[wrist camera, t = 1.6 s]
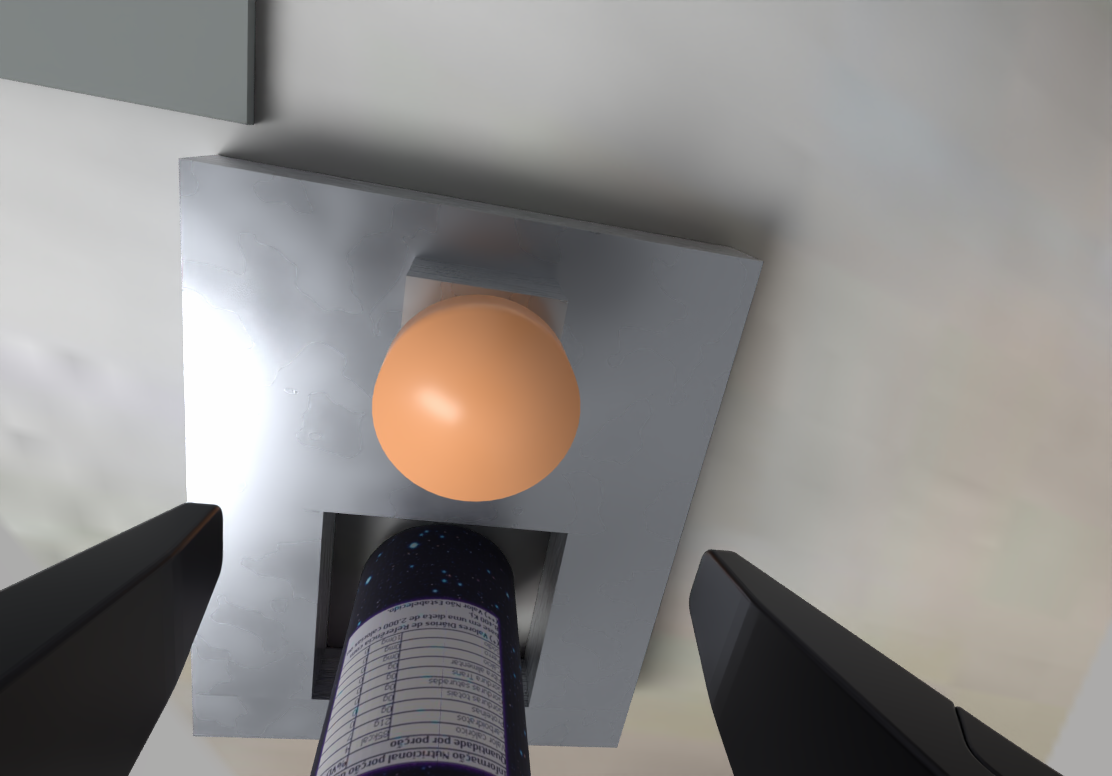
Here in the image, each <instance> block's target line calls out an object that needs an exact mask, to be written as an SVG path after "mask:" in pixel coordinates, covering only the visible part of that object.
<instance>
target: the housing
mask: <svg viewBox="0 0 1112 776" xmlns="http://www.w3.org/2000/svg"><path fill="white" fill-rule="evenodd" d="M179 187H180V227H181V267H182V307H183V347H184V386H185V426H186V466H187V502H193V503H204V504H215V505H218V506H219V507H220V508H221V509H222V512H223V563H222V568H221V572H220V576H219V578H218V581H217V584H216V586H215V589H214V591H213V594H212V596H211V599H210V601H209V604H208V606H207V609H206V611H205V614H204V616H203V619H202V621H201V624H200V627H199V629H198V632H197V634H196V637H195V639H194V642H193V644H192V647H191V665H192V705H193V736H206V737H243V738H280V739H317V740H320V736H321V732H322V728H323V724H324V720H325V716H326V712H327V708H328V704H329V700H330V696H331V692H332V689H333V685H334V681H335V677H336V673H337V669H338V665H339V661H340V657H341V653H342V649H343V648H328V647H326V643H327V629H328V615H329V602H330V588H331V574H332V560H333V546H334V532H335V518H336V513H345V514H356V515H368V516H379V517H390V518H402V519H413V520H424V521H435V522H447V523H458V524H469V525H481V526H492V527H503V528H515V529H526V530H537V531H549V532H551V534H550V539H549V543H548V548H547V553H546V557H545V562H544V567H543V571H542V576H541V581H540V585H539V590H538V595H537V599H536V604H535V608H534V613H533V618H532V622H531V627H530V632H529V636H528V641H527V646H526V650H525V655H524V658H521V657H520V658H521V670H522V681H523V693H524V704H525V716H526V727H527V739H528V745H540V746H577V747H615V748H617V746H618V743H619V739H620V736H621V733H622V729H623V726H624V723H625V720H626V716H627V713H628V710H629V706H630V703H631V700H632V696H633V693H634V690H635V686H636V683H637V680H638V676H639V673H640V670H641V667H642V663H643V660H644V657H645V653H646V650H647V647H648V643H649V640H650V637H651V633H652V630H653V627H654V623H655V620H656V617H657V613H658V610H659V607H660V604H661V600H662V597H663V594H664V590H665V587H666V584H667V580H668V577H669V574H670V570H671V567H672V564H673V560H674V557H675V554H676V551H677V547H678V544H679V541H680V537H681V534H682V531H683V527H684V524H685V521H686V517H687V514H688V511H689V507H690V504H691V501H692V497H693V494H694V491H695V488H696V484H697V481H698V478H699V474H700V471H701V468H702V464H703V461H704V458H705V454H706V451H707V448H708V444H709V441H710V438H711V434H712V431H713V428H714V425H715V421H716V418H717V415H718V411H719V408H720V405H721V401H722V398H723V395H724V391H725V388H726V385H727V381H728V378H729V375H730V372H731V368H732V365H733V362H734V358H735V355H736V352H737V348H738V345H739V342H740V338H741V335H742V332H743V328H744V325H745V322H746V318H747V315H748V312H749V309H750V305H751V302H752V299H753V295H754V292H755V289H756V285H757V282H758V279H759V275H760V272H761V269H762V265H763V261H761V260H759V259H756V258H754V257H752V256H750V255H748V254H745V253H743V252H741V251H739V250H737V249H734V248H732V247H727V246H722V245H716V244H710V243H705V242H699V241H694V240H688V239H683V238H677V237H671V236H666V235H660V234H655V233H649V232H644V231H638V230H632V229H627V228H621V227H616V226H610V225H604V224H599V223H593V222H588V221H582V220H577V219H571V218H565V217H560V216H554V215H549V214H543V213H538V212H532V211H526V210H521V209H515V208H510V207H504V206H499V205H493V204H487V203H482V202H476V201H471V200H465V199H460V198H454V197H448V196H443V195H437V194H432V193H426V192H421V191H415V190H409V189H404V188H398V187H393V186H387V185H382V184H376V183H370V182H365V181H359V180H354V179H348V178H342V177H337V176H331V175H326V174H320V173H315V172H309V171H303V170H298V169H292V168H287V167H281V166H276V165H270V164H264V163H259V162H253V161H248V160H242V159H237V158H231V157H225V156H220V155H209V156H199V157H188V158H179ZM476 294H480V295H491V296H496V297H501V298H505V299H508V300H511V301H513V302H516V303H518V304H520V305H522V306H524V307H526V308H528V309H529V310H531V311H532V312H534V313H535V314H537V315H538V316H539V317H540V318H541V319H542V320H544V321H545V322H546V323H547V324H548V325H549V327H550V328H551V329H552V330H553V331H554V333H555V334H556V336H557V337H558V339H559V340H560V342H561V344H562V346H563V348H564V350H565V353H566V355H567V357H568V360H569V362H570V365H571V367H572V370H573V372H574V375H575V377H576V381H577V384H578V388H579V394H580V419H579V425H578V429H577V432H576V435H575V438H574V440H573V442H572V445H571V447H570V449H569V450H568V452H567V454H566V455H565V457H564V458H563V460H562V461H561V462H560V463H559V464H558V466H557V467H556V468H555V469H554V470H553V471H552V472H551V473H550V474H549V475H548V476H546V477H545V478H544V479H542V480H541V481H540V482H538V483H537V484H535V485H534V486H532V487H530V488H528V489H527V490H524V491H522V492H520V493H518V494H515V495H512V496H509V497H506V498H502V499H496V500H491V501H479V502H476V501H461V500H454V499H450V498H446V497H442V496H439V495H436V494H434V493H431V492H429V491H427V490H425V489H423V488H421V487H419V486H418V485H416V484H415V483H413V482H412V481H410V480H409V479H408V478H406V477H405V476H404V475H403V474H402V473H401V472H400V471H399V470H398V469H397V468H396V467H395V466H394V465H393V464H392V462H391V461H390V460H389V459H388V457H387V455H386V454H385V452H384V451H383V449H382V447H381V445H380V442H379V440H378V438H377V435H376V431H375V428H374V423H373V416H372V399H373V392H374V387H375V384H376V381H377V377H378V374H379V372H380V369H381V367H382V364H383V362H384V359H385V357H386V354H387V352H388V349H389V347H390V345H391V343H392V341H393V340H394V338H395V337H396V335H397V334H398V332H399V331H400V330H401V328H402V327H403V326H404V325H405V324H406V323H407V322H408V321H409V320H410V319H411V318H412V317H414V316H415V315H416V314H417V313H419V312H420V311H422V310H423V309H425V308H427V307H428V306H430V305H433V304H435V303H437V302H439V301H442V300H445V299H448V298H452V297H456V296H462V295H476Z"/></svg>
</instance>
